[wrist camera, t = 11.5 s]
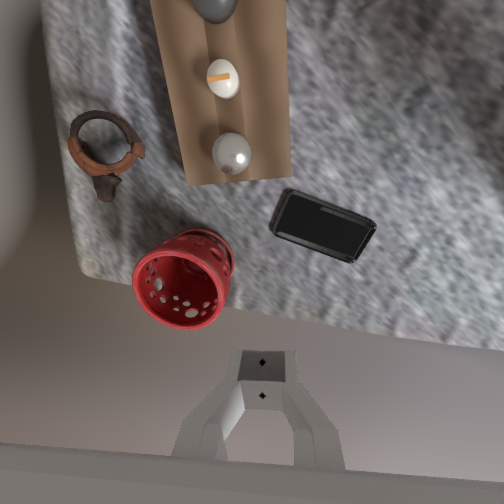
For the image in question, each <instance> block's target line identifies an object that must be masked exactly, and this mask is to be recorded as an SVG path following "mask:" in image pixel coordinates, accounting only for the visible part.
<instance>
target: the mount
mask: <svg viewBox="0 0 504 504" xmlns="http://www.w3.org/2000/svg"><path fill="white" fill-rule="evenodd" d="M150 4H151V9H152V14H153V19H154V24H155V29H156V34H157V39H158V43H159V48H160V53H161V58H162V63H163V68H164V73H165V78H166V82H167V87H168V92H169V97H170V102H171V107H172V112H173V117H174V121H175V126H176V131H177V136H178V141H179V146H180V151H181V156H182V160H183V165H184V170H185V175H186V180H187V185H188V186H194V185H205V184H217V183H228V182H239V181H250V180H261V179H272V178H283V177H291V157H290V125H289V94H288V62H287V30H286V0H237V5H236V8H235V11H234V13H233V14H232V16H231V17H230V18H229V19H228V20H227V21H225V22H224V23H221V24H211V23H209V22H207V21H205V20H204V19H203V18H202V17H201V16H200V14H199V13H198V11H197V9H196V8H195V6H194V4H193V3H192V1H191V0H150ZM218 59H224V60H227V61H229V62H230V63H231V64H232V65H233V67H234V68H235V70H236V72H237V73H238V75H239V78H240V88H239V91H238V93H237V94H236V95H235V96H234V97H233V98H231V99H222V98H220V97H219V96H217V95H216V94H215V93H214V92H212V90H211V89H210V88H209V85H208V83H207V71H208V68H209V66H210V65H211V64H212V63H213V62H214V61H215V60H218ZM226 133H237V134H240V135H242V136H244V137H245V138H246V139H247V140H248V141H249V142H250V144H251V147H252V151H253V155H252V160H251V162H250V164H249V166H248V167H247V168H246V169H245V170H244V171H242V172H241V173H239V174H235V175H230V174H226V173H224V172H222V171H221V170H219V169H218V167H217V166H216V165H215V163H214V160H213V156H212V150H213V145H214V143H215V141H216V140H217V139H218V138H219V137H220V136H221V135H223V134H226Z"/></svg>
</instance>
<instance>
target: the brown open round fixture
mask: <svg viewBox="0 0 504 504" xmlns="http://www.w3.org/2000/svg"><path fill="white" fill-rule="evenodd" d="M91 119H105V120H108V121H111V122H113V123H114V124H116V125H117V126H118V127H119V128H120V129H121V130H122V131H123V132H124V134H125V136H126V138H127V141H128V144H131V151H130V152H127V153H126V155H125V156H124V158H123V159H122V160H120V161H119V162H117V163H114V164H101V163H98V162H96V161H94V160H92V159H91V158H89V157H88V155H87V143H86V142H84V141H82V140H81V139H80V138H78V133H79V130H80V128H81V126H82V125H83V124H84V123H85V122H87V121H88V120H91ZM70 135H71V138H68V139H67V142H68V148H69V151H70V154H71V156H72V158H73V159H74V161H75V162H76V164H77V165H78V166H79V167H80V168H81V169H82V170H83V171H84V172H85V173H87V174H88V175H91V177H92V179H93V183H94V188H95V190H96V193H97V197H98V199H100V200H101V201H103V202H111V201H112V200H113V199H114V197H115V192H116V187H117V185H118V184H119V183H120V182H121V181H122V179H121V178H116V177H114V176H112V175H108V174H109V173H114V174H115V175H116V176H117V175H119V174H121V173H123V172H124V171H126V170H127V169H128V168H130V167H131V166H132V165H133V164H134V163H135V161H136V160H137V158H138V156H139V157H140V158H141V159H144V157H145V150H144V147H143V145H142V144H141V139H140V138H139V136H138V135H137V133H136V132H135V131H134V130H133V128H132V127H131V126H130V125H129V124H128V123H127V122H126V121H124V120H123V119H122V118H118V117H116V115H114V114H111V113H108V112H104V111H97V110H92V111H88V112H85V113H83V114H81V115H79V116H78V117H76V118H75V119H74V120H73V122H72V123H71V130H70Z"/></svg>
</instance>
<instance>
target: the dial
mask: <svg viewBox="0 0 504 504" xmlns="http://www.w3.org/2000/svg"><path fill="white" fill-rule="evenodd" d="M207 83H208V85H209V88H210V89H211V90H212V92H214V93H215V94H216V95H217V96H219V97H220V98H222V99H231V98H233V97H234V96H235V95H236V94H237V93H238V91H239V88H240V78H239V75H238V73H237V72H236V70H235V68H234V67H233V65H232V64H231V63H230V62H229V61H227V60H224V59H218V60H215V61H214V62H213V63H212V64H211V65H210V66H209V68H208V71H207Z"/></svg>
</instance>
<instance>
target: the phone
mask: <svg viewBox="0 0 504 504" xmlns="http://www.w3.org/2000/svg"><path fill="white" fill-rule="evenodd" d="M376 228H377V226H376V223H375V222H374V221H372V220H370V219H367V218H366V217H362V216H361V215H359V214H356V213H353V212H351V211H349V210H348V211H347V210H344V209H342V208H339V207H337V206H334V205H332V204H329V203H326V202H324V201H321V200H319V199H316V198H314V197H311V196H308V195H306V194H303V193H301V192H298V191H295V190H291V191H289V192H288V193H287V194H286V196H285V199H284V201H283V204H282V206H281V208H280V211H279V213H278V215H277V218H276V220H275V222H274V225H273V228H272V232H273V234H274V235H275V236H277V237H279V238H282V239H285V240H287V241H290V242H293V243H295V244H298V245H301V246H303V247H306V248H309V249H311V250H314V251H317V252H319V253H322V254H325V255H328V256H330V257H333V258H336V259H338V260H341V261H344V262H346V263H354V262H355V261H356V260H357V259H358V258H359V256H360V254H361V253H362V251H363V250H364V248H365V247H366V245H367V243H368V242H369V240H370V239H371V237H372V235H373V234H374V232H375V231H376Z"/></svg>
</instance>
